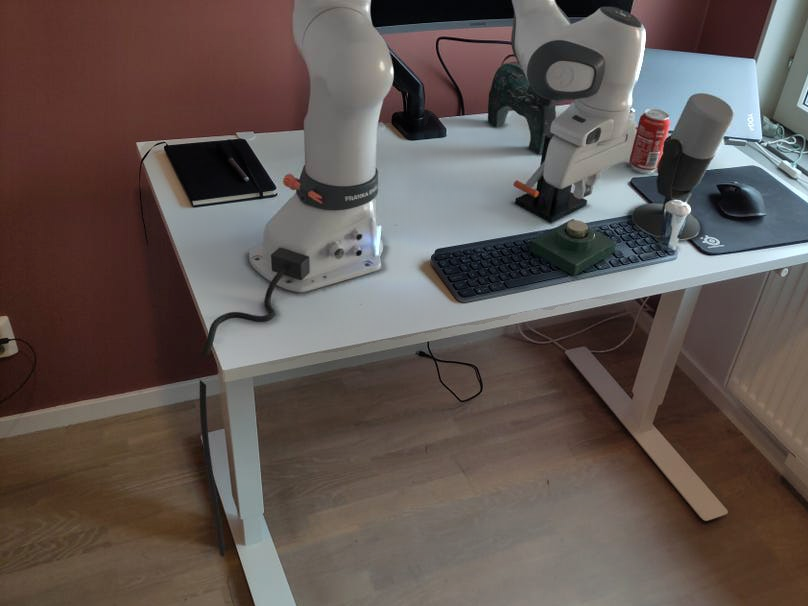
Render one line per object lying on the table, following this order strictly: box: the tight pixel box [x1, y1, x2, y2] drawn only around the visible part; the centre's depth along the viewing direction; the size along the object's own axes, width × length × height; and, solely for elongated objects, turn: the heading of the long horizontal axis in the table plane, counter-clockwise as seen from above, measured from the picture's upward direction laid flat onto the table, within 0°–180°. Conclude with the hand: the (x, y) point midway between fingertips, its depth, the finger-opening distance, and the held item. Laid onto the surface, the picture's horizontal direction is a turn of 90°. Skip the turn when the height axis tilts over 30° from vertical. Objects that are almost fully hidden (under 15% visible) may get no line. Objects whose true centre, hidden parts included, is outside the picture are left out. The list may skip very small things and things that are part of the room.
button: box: [566, 219, 589, 239], centre depth 144 cm, size 4×4×2 cm
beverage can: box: [629, 108, 671, 174], centre depth 172 cm, size 6×6×12 cm
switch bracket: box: [514, 133, 588, 224], centre depth 154 cm, size 11×9×14 cm
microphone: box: [631, 92, 735, 242], centre depth 150 cm, size 13×13×25 cm
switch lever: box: [513, 161, 545, 197], centre depth 150 cm, size 12×5×2 cm
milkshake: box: [657, 192, 692, 252], centre depth 148 cm, size 5×5×10 cm
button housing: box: [528, 218, 617, 277], centre depth 145 cm, size 12×10×4 cm
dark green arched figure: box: [487, 53, 565, 155], centre depth 173 cm, size 20×6×20 cm, turn 39°
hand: (582, 195), depth 139 cm, fingers closed
